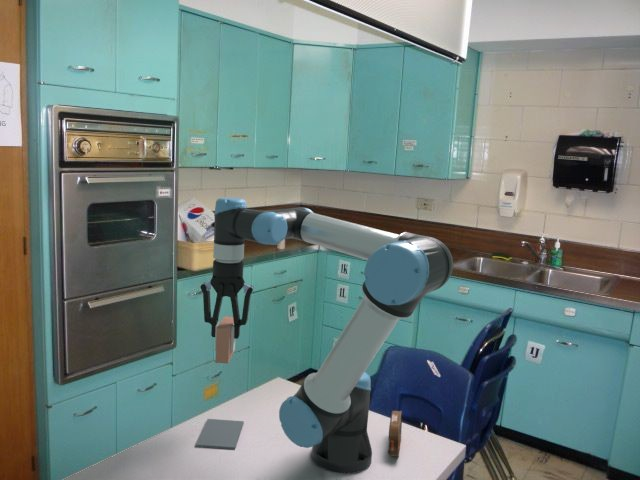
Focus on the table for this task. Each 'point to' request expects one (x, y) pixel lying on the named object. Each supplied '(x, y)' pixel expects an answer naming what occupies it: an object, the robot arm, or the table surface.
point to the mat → (220, 434)
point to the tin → (395, 433)
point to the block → (224, 340)
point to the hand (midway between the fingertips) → (224, 349)
